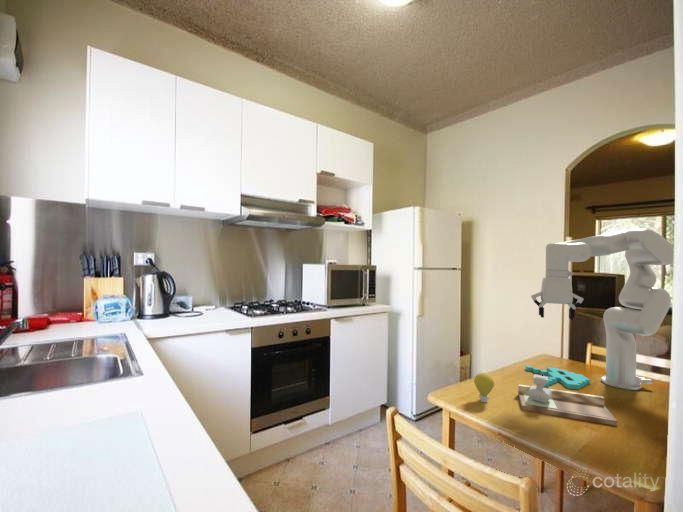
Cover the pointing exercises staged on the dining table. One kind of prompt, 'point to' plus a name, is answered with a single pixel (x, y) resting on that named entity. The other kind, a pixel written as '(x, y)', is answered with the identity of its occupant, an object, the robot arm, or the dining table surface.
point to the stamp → (539, 389)
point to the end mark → (548, 404)
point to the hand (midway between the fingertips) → (556, 318)
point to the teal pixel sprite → (562, 377)
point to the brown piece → (572, 406)
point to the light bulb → (484, 385)
